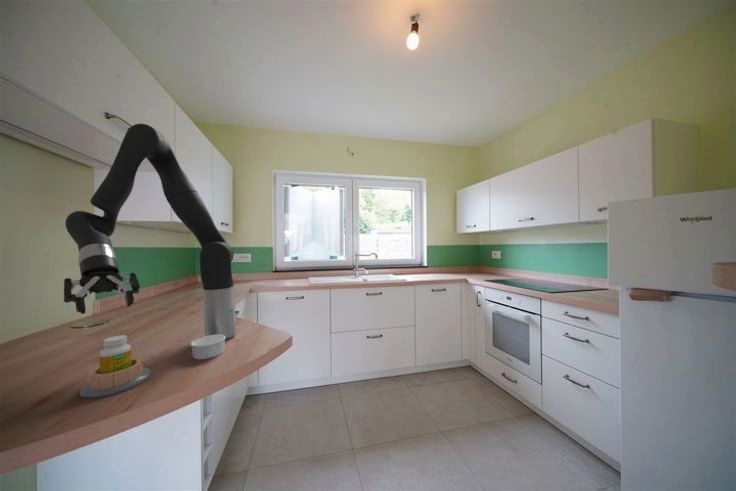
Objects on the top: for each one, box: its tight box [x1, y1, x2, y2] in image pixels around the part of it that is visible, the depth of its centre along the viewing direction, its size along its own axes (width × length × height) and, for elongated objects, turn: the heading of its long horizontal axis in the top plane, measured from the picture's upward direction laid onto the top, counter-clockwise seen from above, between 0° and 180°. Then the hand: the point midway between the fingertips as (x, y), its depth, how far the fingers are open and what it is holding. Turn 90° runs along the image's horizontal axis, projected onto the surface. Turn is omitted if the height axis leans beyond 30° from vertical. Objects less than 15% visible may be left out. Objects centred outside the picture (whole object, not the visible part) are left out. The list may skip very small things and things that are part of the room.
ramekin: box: [189, 335, 226, 360], centre depth 77 cm, size 9×9×4 cm
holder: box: [79, 357, 151, 399], centre depth 61 cm, size 12×12×4 cm
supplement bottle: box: [99, 334, 133, 374], centre depth 61 cm, size 5×5×10 cm
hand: (107, 308), depth 68 cm, fingers open, 8 cm apart
